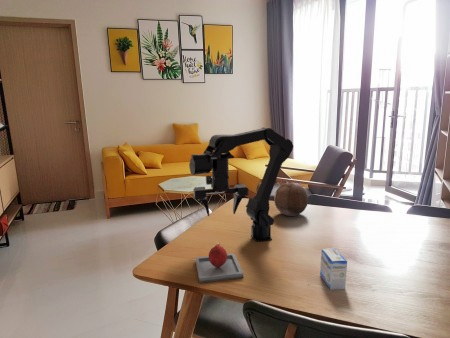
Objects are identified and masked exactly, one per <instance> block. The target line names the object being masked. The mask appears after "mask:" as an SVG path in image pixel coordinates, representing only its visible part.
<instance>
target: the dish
mask: <svg viewBox="0 0 450 338" xmlns="http://www.w3.org/2000/svg"><path fill="white" fill-rule="evenodd" d="M195 265H196V266H195V267H196V270H197V271H196V272H197V275H198V282H199V283H200V284H202V283H210V282H218V281H229V280H235V279H244V272H243V270H242V268H241V265H240V263H239V261H238V259H237V256H236V255H235V253H227V260H226V262H225V263H224V264H223V265H222V266H221V267H219V268H217V267H215V266H213V265H212V264H211V263H210V261H209V255H207V256H196V257H195Z"/></svg>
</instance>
